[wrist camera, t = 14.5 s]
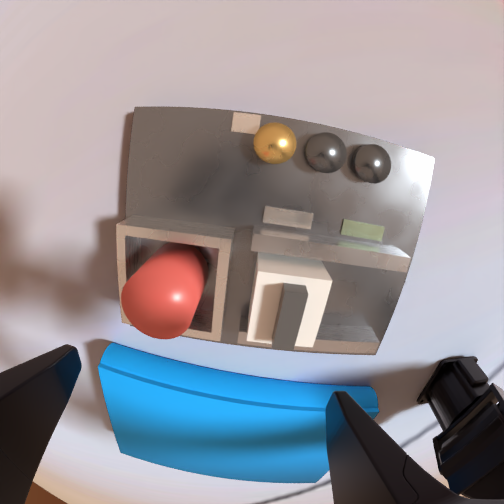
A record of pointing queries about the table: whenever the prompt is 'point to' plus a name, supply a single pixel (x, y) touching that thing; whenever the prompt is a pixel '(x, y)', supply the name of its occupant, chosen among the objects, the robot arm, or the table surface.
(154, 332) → the cap
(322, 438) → the book
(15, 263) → the table surface
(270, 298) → the breaker
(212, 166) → the panel
